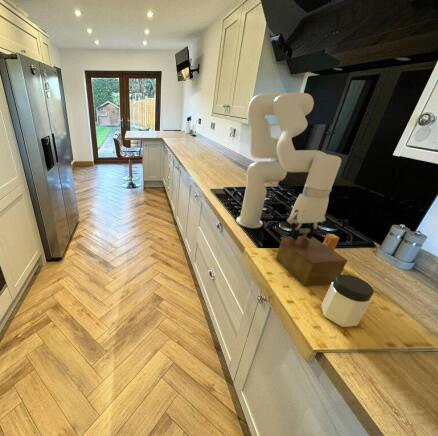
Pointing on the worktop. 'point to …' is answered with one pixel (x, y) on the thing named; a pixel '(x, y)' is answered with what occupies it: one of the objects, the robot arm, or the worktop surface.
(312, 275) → the chest
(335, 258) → the lid
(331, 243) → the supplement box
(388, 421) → the worktop surface
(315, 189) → the robot arm
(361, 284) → the jar
